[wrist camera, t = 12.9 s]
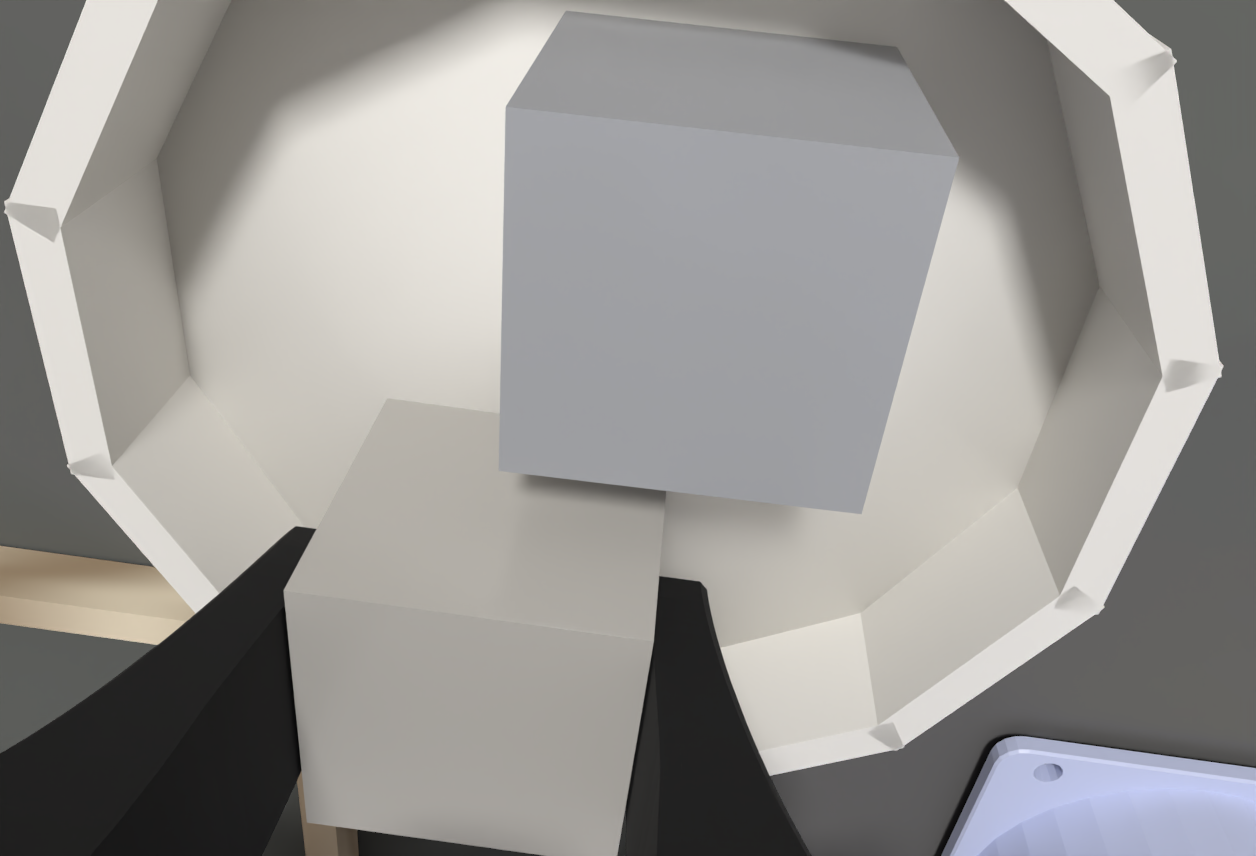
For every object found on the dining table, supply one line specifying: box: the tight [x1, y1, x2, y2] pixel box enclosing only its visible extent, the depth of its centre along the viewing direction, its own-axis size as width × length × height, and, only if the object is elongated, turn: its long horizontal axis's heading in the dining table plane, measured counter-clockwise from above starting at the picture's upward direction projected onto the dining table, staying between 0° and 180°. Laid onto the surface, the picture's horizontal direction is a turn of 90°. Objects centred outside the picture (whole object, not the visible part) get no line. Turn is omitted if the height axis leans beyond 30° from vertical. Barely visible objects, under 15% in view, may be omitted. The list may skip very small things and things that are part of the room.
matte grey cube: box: [499, 11, 959, 514], centre depth 12 cm, size 4×4×4 cm
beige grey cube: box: [283, 398, 666, 856], centre depth 14 cm, size 4×4×4 cm
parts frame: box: [0, 546, 359, 856], centre depth 22 cm, size 12×12×1 cm
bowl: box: [4, 0, 1223, 776], centre depth 14 cm, size 14×14×3 cm
